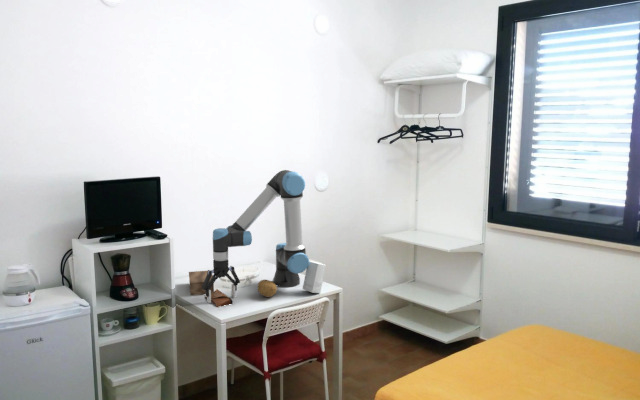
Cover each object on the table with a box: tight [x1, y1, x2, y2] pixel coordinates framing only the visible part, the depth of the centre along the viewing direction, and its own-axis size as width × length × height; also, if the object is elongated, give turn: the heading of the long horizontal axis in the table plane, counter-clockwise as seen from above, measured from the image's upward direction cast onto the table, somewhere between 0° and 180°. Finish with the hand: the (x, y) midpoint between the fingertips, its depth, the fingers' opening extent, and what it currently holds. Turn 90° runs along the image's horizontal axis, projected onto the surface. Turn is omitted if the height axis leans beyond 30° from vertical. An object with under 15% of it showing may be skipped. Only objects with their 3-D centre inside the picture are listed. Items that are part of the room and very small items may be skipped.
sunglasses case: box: [204, 288, 233, 308], centre depth 254 cm, size 18×7×7 cm, turn 35°
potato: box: [257, 279, 278, 298], centre depth 261 cm, size 10×14×8 cm
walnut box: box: [188, 270, 215, 296], centre depth 272 cm, size 12×20×7 cm, turn 16°
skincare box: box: [302, 260, 327, 294], centre depth 267 cm, size 8×7×16 cm
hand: (221, 299), depth 255 cm, fingers open, 13 cm apart
